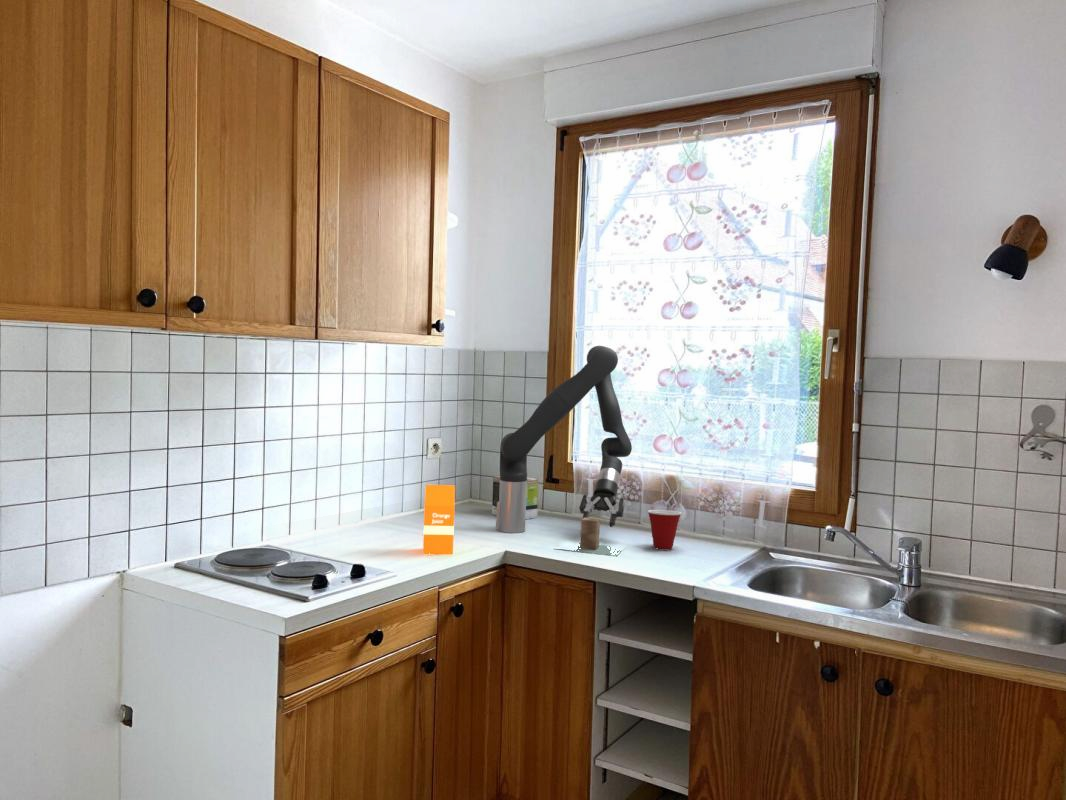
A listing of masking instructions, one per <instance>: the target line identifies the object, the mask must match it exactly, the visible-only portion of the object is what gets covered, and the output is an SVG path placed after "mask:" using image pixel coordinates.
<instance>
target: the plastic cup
mask: <svg viewBox="0 0 1066 800" xmlns="http://www.w3.org/2000/svg"><path fill="white" fill-rule="evenodd" d="M646 512H647V513H648V516H649V520H650V521H649V522H650V528H651V529H650V530H651V537H652V542H653V544H652V545H653V548H654V547H655V548H654V549H656V548H658V549H657V550H659V549H671V550H672V549H673V547H674V542H675V538H676V534H677V529H678V526H679V525H678V524H679V522H680V518H681V515H682V513H683V512H681V511H677V510H667V509H666V510H665V509H649V510H647V511H646Z"/></svg>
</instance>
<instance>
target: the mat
mask: <svg viewBox="0 0 1066 800" xmlns="http://www.w3.org/2000/svg"><path fill="white" fill-rule="evenodd" d="M579 544H580V542H579ZM607 546H609V547H610V546H611V545H605V544H599V548H598V549H597V550H590V549H579V548H580V547H579V546H578V549H577V550H576V551H578V550H579V551H578V552H577V553H583V552H586V553H585V554H592V553H595V554H594V555H601V554H605V555H604V556H610V555H611V554H612V553H610V551H611V547H610V550H609V549H608V548H607ZM615 550H616V549H615ZM574 551H575V550H574ZM574 551H573V552H574ZM619 551H620V550H619ZM619 551H617V553H618V552H619ZM614 552H615V551H614ZM614 552H613V553H614ZM615 555H616V554H615Z"/></svg>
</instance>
